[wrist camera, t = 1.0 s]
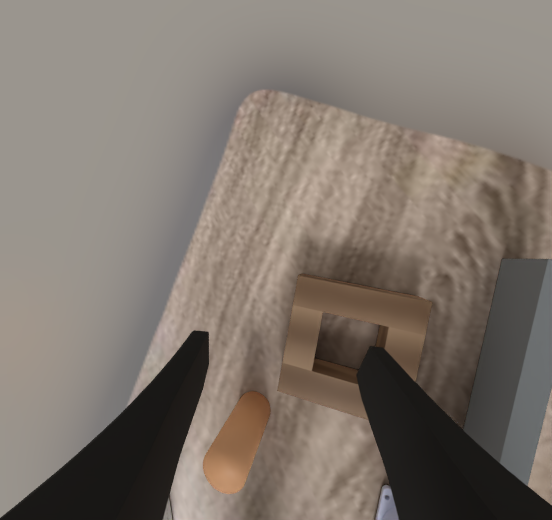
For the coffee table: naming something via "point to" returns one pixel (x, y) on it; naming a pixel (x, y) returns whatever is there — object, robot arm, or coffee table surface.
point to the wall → (514, 366)
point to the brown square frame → (357, 305)
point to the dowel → (237, 444)
